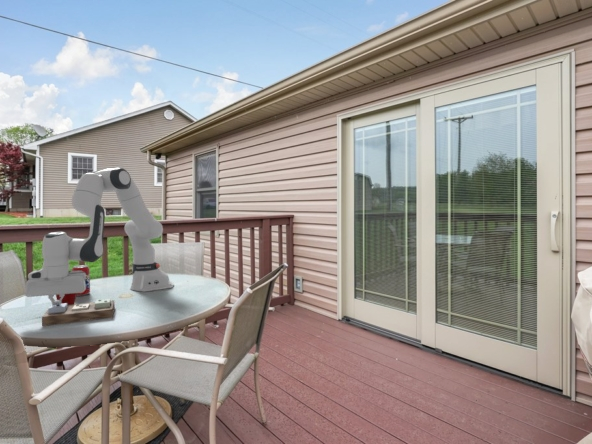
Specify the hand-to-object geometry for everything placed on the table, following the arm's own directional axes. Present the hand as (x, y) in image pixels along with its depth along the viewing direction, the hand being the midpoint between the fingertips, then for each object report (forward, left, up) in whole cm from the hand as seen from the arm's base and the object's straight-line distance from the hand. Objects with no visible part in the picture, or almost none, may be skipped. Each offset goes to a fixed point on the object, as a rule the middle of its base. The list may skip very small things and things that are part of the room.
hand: (56, 305), depth 136 cm
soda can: (-3, -38, -6) cm, 39 cm away
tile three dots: (-8, 0, -5) cm, 10 cm away
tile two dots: (-16, 0, -3) cm, 17 cm away
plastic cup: (0, -18, -6) cm, 19 cm away
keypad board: (-8, 0, -6) cm, 10 cm away
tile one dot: (0, 0, -3) cm, 3 cm away
